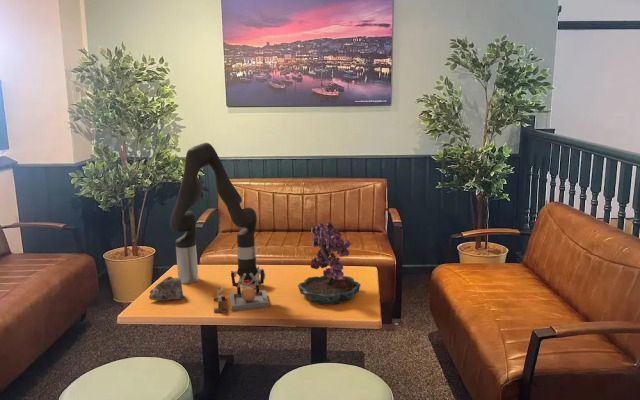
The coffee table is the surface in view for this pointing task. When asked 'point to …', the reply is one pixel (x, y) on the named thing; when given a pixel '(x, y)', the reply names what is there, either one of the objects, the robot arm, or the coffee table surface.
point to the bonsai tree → (329, 269)
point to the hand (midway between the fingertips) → (248, 294)
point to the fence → (220, 302)
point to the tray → (257, 302)
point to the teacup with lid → (251, 281)
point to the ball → (248, 294)
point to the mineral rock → (167, 290)
